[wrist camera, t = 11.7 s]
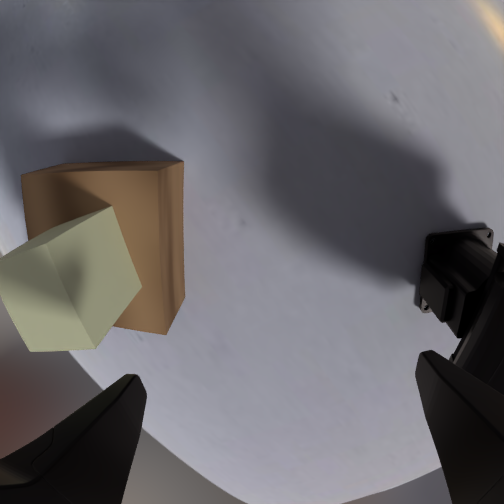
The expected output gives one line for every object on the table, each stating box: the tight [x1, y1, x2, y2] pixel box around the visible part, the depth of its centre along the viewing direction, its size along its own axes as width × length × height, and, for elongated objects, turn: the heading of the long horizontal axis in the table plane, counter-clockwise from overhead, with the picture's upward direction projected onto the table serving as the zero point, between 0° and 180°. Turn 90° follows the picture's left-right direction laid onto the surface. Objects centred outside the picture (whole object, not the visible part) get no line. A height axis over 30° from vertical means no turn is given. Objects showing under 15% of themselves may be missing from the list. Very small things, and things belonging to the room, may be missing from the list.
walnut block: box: [21, 161, 185, 335], centre depth 19 cm, size 10×10×5 cm
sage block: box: [0, 206, 142, 352], centre depth 14 cm, size 5×5×6 cm
